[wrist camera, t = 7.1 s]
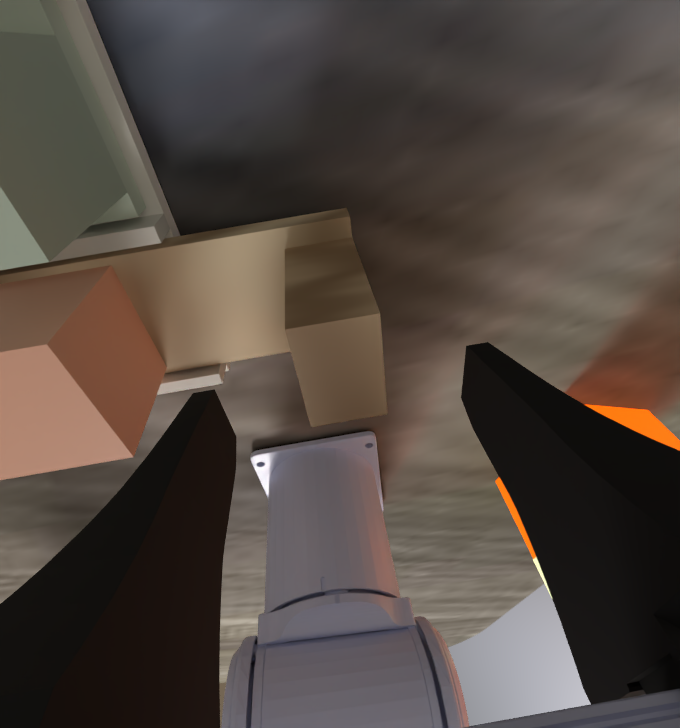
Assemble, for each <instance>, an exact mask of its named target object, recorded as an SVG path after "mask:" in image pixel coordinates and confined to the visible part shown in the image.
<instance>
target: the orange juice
mask: <svg viewBox="0 0 680 728" xmlns="http://www.w3.org/2000/svg"><path fill="white" fill-rule="evenodd" d="M584 405H586V404H584ZM586 406H588V407H589V408H591V409H593V410H595V411H597V412H598V413H600V414H602V415H604V416H606V417H608V418H610V419H612V420H614V421H616V422H618V423H620V424H622V425H624V426H626V427H628V428H630V429H632V430H634V431H636V432H638V433H640V434H643V435H645V436H647V437H649V438H651V439H654V440H656V441H658V442H661V443H663V444H665V445H668V446H670V447H672V448H675V449H677V450H680V441H679V440H678V439H677V438H676V437H675V436H674V435H673V434H672V433H671V432H670V431H669V430H668V429H667V428H666V427H665V426H664V425H663V424H662V423H661V422H660V421H659V420H658V419H657V418H656V417H655V416H654V415H653V414H652V413H651V412H650V411H649V410H643V409H631V408H620V407H609V406H597V405H586ZM495 482H496V484H497V486H498V488H499V490H500V492H501V494H502V496H503V498H504V500H505V502H506V504H507V506H508V508H509V510H510V512H511V514H512V516H513V518H514V520H515V522H516V524H517V526H518V528H519V530H520V532H521V534H522V536H523V538H524V540H525V542H526V544H527V547H528V549H529V551H530V553H531V555H532V557H533V561H534V563H535V565H536V567H537V569H538V571H539V573H540V575H541V577H542V579H543V581H544V583H545V585H546V587H547V589H548V591H549V588H548V586H547V583H546V580H545V578H544V575H543V573H542V570H541V568H540V565H539V563H538V560H537V558H536V555H535V553H534V550H533V548H532V545H531V543H530V540H529V538H528V536H527V533H526V531H525V528H524V526H523V524H522V521H521V519H520V517H519V514H518V512H517V510H516V508H515V506H514V504H513V502H512V500H511V498H510V496H509V494H508V492H507V490H506V488H505V486H504V484H503V483H502V481H501V479H500V477H498V479H497V480H496V481H495ZM549 593H550V591H549ZM550 595H551V594H550ZM551 597H552V596H551Z"/></svg>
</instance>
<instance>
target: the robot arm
mask: <svg viewBox="0 0 680 728" xmlns="http://www.w3.org/2000/svg"><path fill="white" fill-rule="evenodd" d="M461 398H462V401H463V404H464V407H465V409H466V412H467V415H468V417H469V420H470V422H471V425H472V427H473V429H474V431H475V433H476V435H477V437H478V439H479V441H480V442H481V444H482V446H483V448H484V450H485V452H486V454H487V455H488V457H489V459H490V461H491V463H492V464H493V466H494V468H495V470H496V472H497V474H498V475H499V477H500V479H501V481H502V483H503V484H504V486H505V488H506V490H507V492H508V494H509V496H510V498H511V500H512V502H513V504H514V506H515V508H516V510H517V512H518V514H519V517H520V519H521V521H522V524H523V526H524V528H525V531H526V533H527V536H528V538H529V540H530V543H531V545H532V548H533V550H534V553H535V555H536V558H537V560H538V563H539V565H540V568H541V570H542V573H543V575H544V578H545V580H546V583H547V586H548V588H549V591H550V594H551V596H552V599H553V602H554V604H555V607H556V610H557V612H558V615H559V618H560V620H561V623H562V626H563V629H564V632H565V635H566V638H567V640H568V644H569V646H570V649H571V652H572V655H573V658H574V661H575V664H576V666H577V670H578V673H579V676H580V679H581V682H582V685H583V688H584V690H585V693H586V695H587V697H588V699H589V701H590V703H591V705H585V706H581V707H574V708H569V709H563V710H558V711H553V712H547V713H541V714H535V715H530V716H524V717H519V718H513V719H509V720H502V721H497V722H491V723H485V724H480V725H474V726H469V723H468V716H467V711H466V706H465V702H464V697H463V693H462V689H461V685H460V682H459V678H458V675H457V671H456V668H455V666H454V663H453V660H452V657H451V654H450V652H449V650H448V647H447V645H446V643H445V641H444V639H443V638H442V636H441V635H440V633H439V632H438V631H437V630H436V629H435V628H434V627H433V626H432V625H431V623H430V622H429V621H428V620H427V619H426V618H424V617H421V616H419V617H414V614H413V610H412V606H411V601H410V598H408V597H405V598H401V597H400V592H399V588H398V583H397V578H396V574H395V569H394V564H393V559H392V555H391V550H390V545H389V541H388V536H387V531H386V527H385V522H384V517H383V513H382V511H383V510H384V508H383V499H382V490H381V480H380V471H379V462H378V452H377V443H376V436H375V433H373V432H371V431H365V432H359V433H353V434H348V435H342V436H336V437H330V438H325V439H319V440H313V441H307V442H301V443H296V444H290V445H284V446H278V447H273V448H267V449H261V450H256V451H254V452H252V453H251V462H252V464H253V466H254V469H255V471H256V473H257V475H258V477H259V480H260V482H261V484H262V486H263V488H264V491H265V493H266V495H267V497H268V525H267V553H266V582H265V610H264V613H263V614H260V615H259V617H258V637H257V636H249V637H246V638H245V639H244V640H243V642H242V644H241V646H240V647H239V648H238V650H237V651H236V652H235V654H234V655H233V657H232V660H231V663H230V667H229V671H228V677H227V682H226V689H225V696H224V705H223V715H222V728H680V450H677V449H675V448H672V447H670V446H668V445H665V444H663V443H661V442H658V441H656V440H654V439H651V438H649V437H647V436H645V435H643V434H640V433H638V432H636V431H634V430H632V429H630V428H628V427H626V426H624V425H622V424H620V423H618V422H616V421H614V420H612V419H610V418H608V417H606V416H604V415H602V414H600V413H598V412H597V411H595V410H593V409H591V408H589V407H588V406H586V405H584V404H582V403H581V402H579V401H577V400H575V399H574V398H572V397H570V396H568V395H567V394H565V393H564V392H562V391H560V390H559V389H557V388H555V387H554V386H552V385H551V384H549V383H547V382H546V381H544V380H543V379H541V378H540V377H538V376H537V375H535V374H534V373H532V372H531V371H529V370H528V369H526V368H525V367H523V366H522V365H520V364H519V363H517V362H516V361H515V360H513V359H512V358H510V357H509V356H507V355H506V354H504V353H503V352H501V351H500V350H499V349H497V348H496V347H494V346H493V345H491V344H489V343H488V342H487V343H481V344H475V345H469V346H466V355H465V365H464V375H463V385H462V395H461ZM235 471H236V435H235V433H234V431H233V429H232V427H231V424H230V422H229V420H228V418H227V416H226V413H225V411H224V409H223V407H222V405H221V403H220V400H219V398H218V396H217V394H216V392H215V390H209V391H203V392H198V393H193V394H192V396H191V397H190V398H189V400H188V401H187V402H186V404H185V405H184V407H183V408H182V409H181V411H180V412H179V414H178V415H177V416H176V418H175V419H174V421H173V422H172V423H171V425H170V426H169V428H168V429H167V430H166V432H165V433H164V435H163V436H162V437H161V439H160V440H159V441H158V443H157V444H156V445H155V447H154V448H153V449H152V451H151V452H150V453H149V455H148V456H147V457H146V459H145V460H144V461H143V462H142V463H141V465H140V466H139V467H138V468H137V470H136V471H135V472H134V473H133V475H132V476H131V477H130V478H129V480H128V481H127V482H126V483H125V484H124V486H123V487H122V488H121V489H120V490H119V491H118V493H117V494H116V495H115V496H114V497H113V498H112V499H111V501H110V502H109V503H108V504H107V505H106V506H105V507H104V508H103V509H102V510H101V511H100V512H99V513H98V514H97V516H96V517H95V518H94V519H93V520H92V521H91V522H90V523H89V524H88V525H87V526H86V527H85V528H84V529H83V530H82V531H81V532H80V533H79V534H78V535H77V536H76V537H75V538H74V539H73V540H72V541H70V542H69V543H68V544H67V545H66V546H65V547H64V548H63V549H62V550H61V551H60V552H59V553H58V554H57V555H56V556H55V557H54V558H53V559H52V560H51V561H49V562H48V563H47V564H46V565H45V566H44V567H43V568H42V569H41V570H40V571H38V572H37V573H36V574H35V575H34V576H33V577H32V578H31V579H29V580H28V581H27V582H26V583H25V584H24V585H23V586H21V587H20V588H19V589H18V590H17V591H15V592H14V593H13V594H12V595H11V596H10V597H8V598H7V599H6V600H5V601H4V602H2V603H1V604H0V728H220V699H219V650H220V608H221V584H222V565H223V554H224V545H225V538H226V532H227V525H228V519H229V512H230V506H231V499H232V492H233V485H234V479H235Z"/></svg>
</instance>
